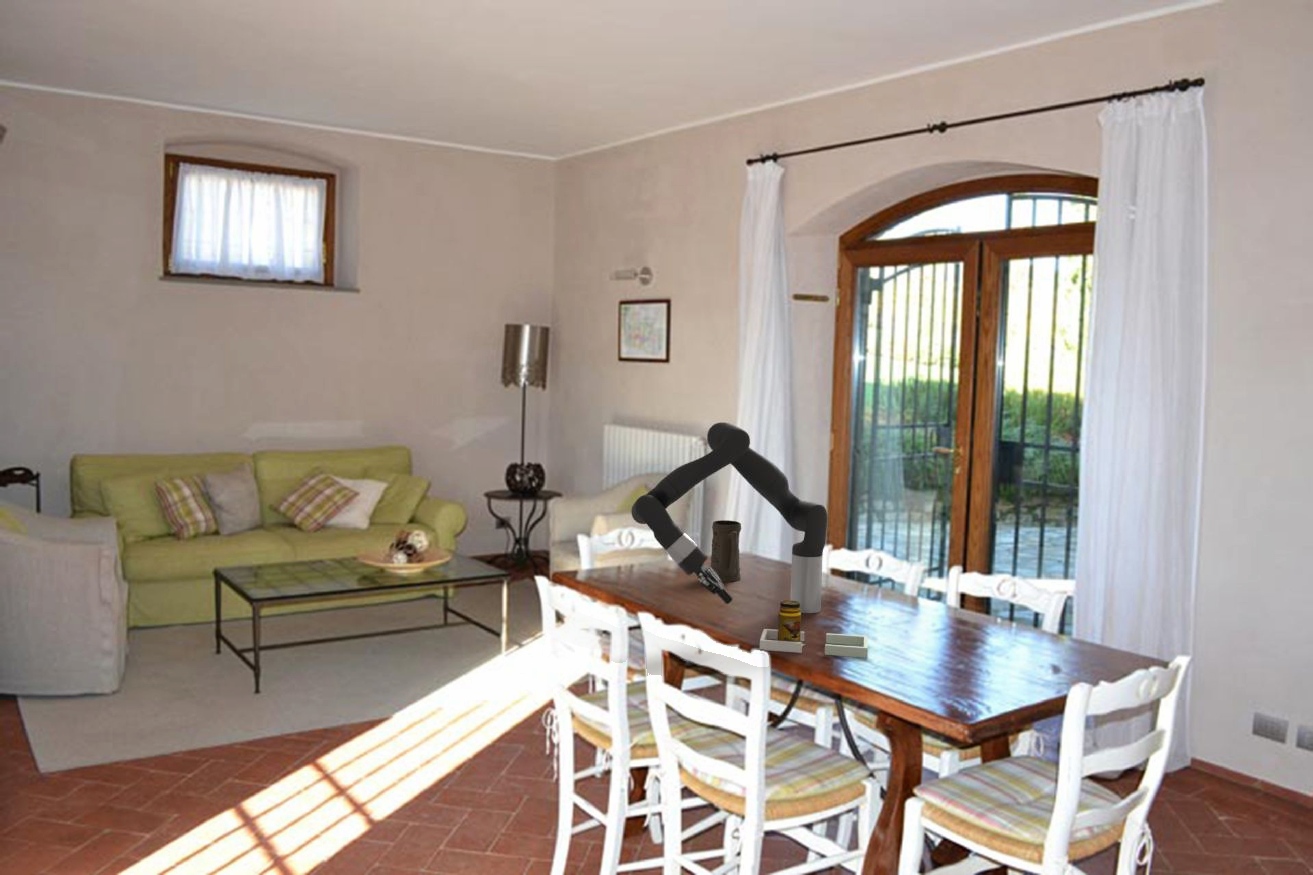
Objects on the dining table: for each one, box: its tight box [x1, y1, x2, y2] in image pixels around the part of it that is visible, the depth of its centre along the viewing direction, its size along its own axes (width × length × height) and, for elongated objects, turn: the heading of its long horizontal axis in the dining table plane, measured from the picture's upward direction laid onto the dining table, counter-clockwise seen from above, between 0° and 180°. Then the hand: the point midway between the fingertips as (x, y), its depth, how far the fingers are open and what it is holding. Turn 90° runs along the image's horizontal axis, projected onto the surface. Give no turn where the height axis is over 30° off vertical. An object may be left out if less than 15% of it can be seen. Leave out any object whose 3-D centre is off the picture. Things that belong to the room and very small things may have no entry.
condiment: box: [774, 599, 806, 647], centre depth 298 cm, size 7×8×12 cm
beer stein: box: [709, 519, 742, 583], centre depth 380 cm, size 15×11×20 cm
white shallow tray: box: [824, 632, 869, 659], centre depth 296 cm, size 12×11×2 cm
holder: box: [759, 628, 805, 654], centre depth 299 cm, size 12×11×2 cm
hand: (730, 601), depth 301 cm, fingers closed
